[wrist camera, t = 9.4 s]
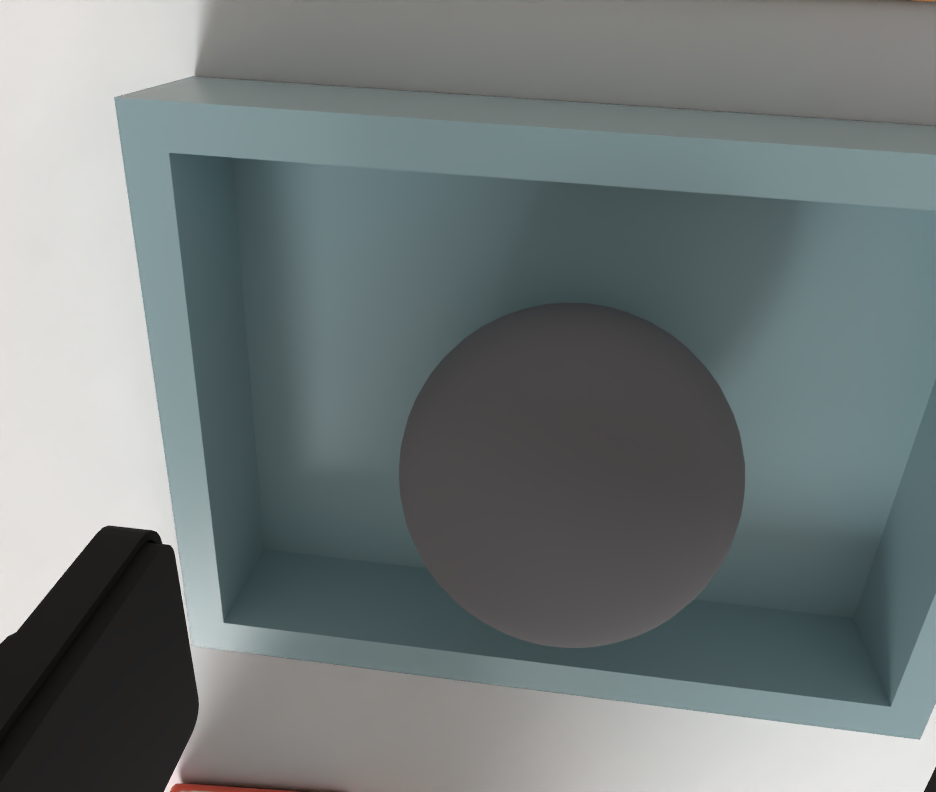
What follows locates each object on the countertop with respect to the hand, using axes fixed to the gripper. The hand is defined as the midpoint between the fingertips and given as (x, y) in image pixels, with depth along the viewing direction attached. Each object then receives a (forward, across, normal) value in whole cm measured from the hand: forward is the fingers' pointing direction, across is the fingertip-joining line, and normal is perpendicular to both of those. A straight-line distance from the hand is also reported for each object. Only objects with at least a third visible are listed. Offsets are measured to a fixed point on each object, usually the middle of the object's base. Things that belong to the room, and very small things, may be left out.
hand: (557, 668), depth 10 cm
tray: (+9, 0, -1) cm, 9 cm away
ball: (+8, 0, +1) cm, 8 cm away
